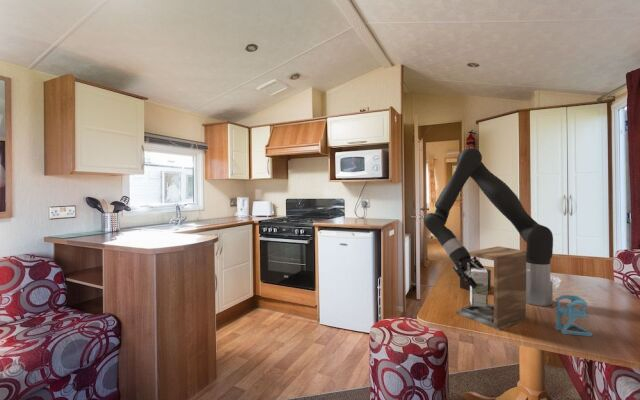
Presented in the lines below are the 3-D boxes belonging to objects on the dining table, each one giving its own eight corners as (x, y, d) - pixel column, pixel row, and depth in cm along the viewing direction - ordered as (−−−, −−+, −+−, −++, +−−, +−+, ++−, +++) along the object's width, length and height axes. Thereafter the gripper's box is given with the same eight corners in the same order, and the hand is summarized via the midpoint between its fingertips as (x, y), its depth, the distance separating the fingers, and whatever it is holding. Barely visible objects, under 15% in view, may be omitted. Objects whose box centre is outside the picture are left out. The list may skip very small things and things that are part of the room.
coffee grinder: (492, 288, 148) (492, 251, 148) (480, 293, 142) (480, 255, 141) (462, 281, 161) (461, 247, 161) (449, 285, 155) (449, 250, 154)
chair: (550, 326, 109) (550, 292, 108) (574, 325, 108) (574, 292, 108) (567, 336, 101) (567, 301, 100) (593, 336, 101) (593, 300, 100)
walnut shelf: (455, 312, 122) (455, 249, 120) (483, 303, 130) (483, 244, 129) (498, 329, 107) (498, 257, 106) (526, 318, 115) (526, 250, 114)
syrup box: (485, 302, 124) (485, 267, 124) (488, 308, 119) (488, 271, 118) (469, 301, 126) (469, 266, 126) (471, 306, 121) (471, 270, 120)
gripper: (450, 248, 125) (476, 283, 115) (472, 244, 132) (499, 277, 122) (439, 258, 130) (464, 293, 120) (461, 254, 136) (486, 286, 127)
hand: (481, 285), depth 121 cm, fingers closed on syrup box, 8 cm apart
